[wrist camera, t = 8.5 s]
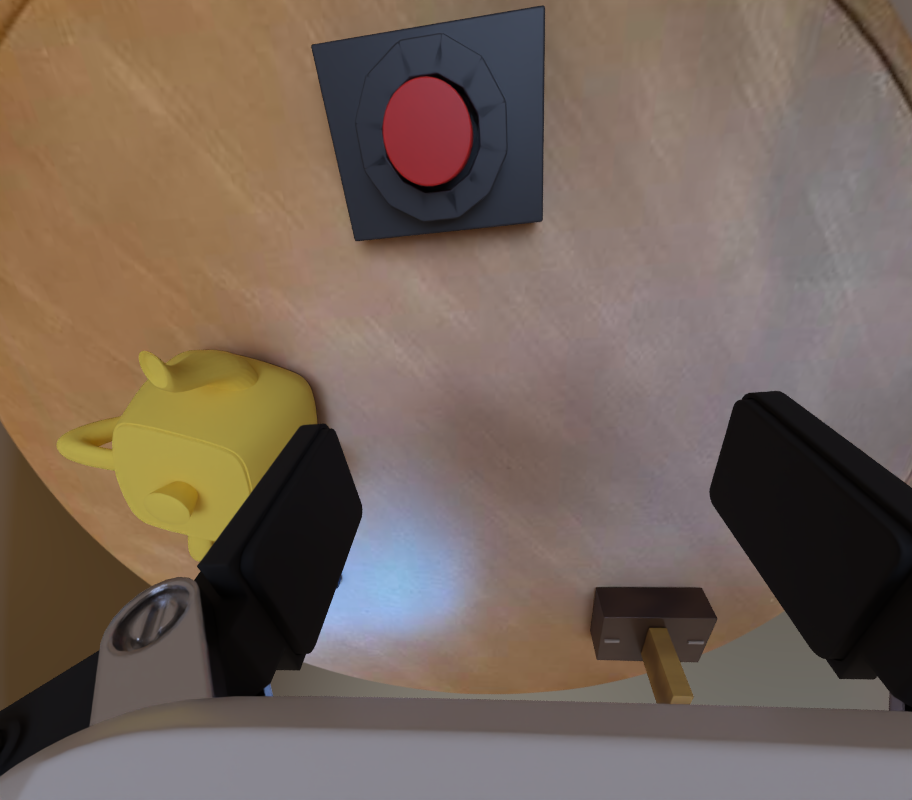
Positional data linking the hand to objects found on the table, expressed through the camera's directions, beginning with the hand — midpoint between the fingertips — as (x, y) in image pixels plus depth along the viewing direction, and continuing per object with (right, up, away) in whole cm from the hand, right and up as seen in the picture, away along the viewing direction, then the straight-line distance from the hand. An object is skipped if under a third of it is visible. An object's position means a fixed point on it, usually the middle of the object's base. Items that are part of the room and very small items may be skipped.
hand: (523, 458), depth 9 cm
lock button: (-3, +13, +7) cm, 15 cm away
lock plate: (+18, -21, +30) cm, 41 cm away
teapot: (-17, +1, +20) cm, 26 cm away
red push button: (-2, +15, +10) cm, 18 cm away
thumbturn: (+18, -22, +28) cm, 40 cm away
